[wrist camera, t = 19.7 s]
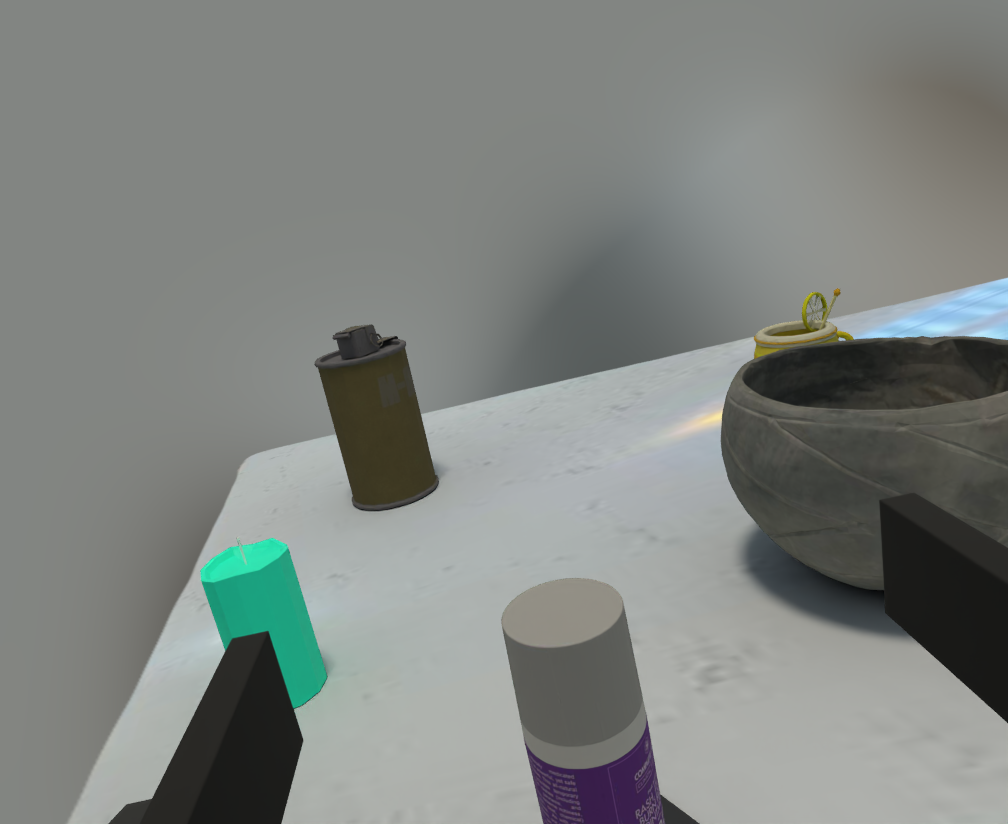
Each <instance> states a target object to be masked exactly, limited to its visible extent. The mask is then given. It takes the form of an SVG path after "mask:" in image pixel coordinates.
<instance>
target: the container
mask: <svg viewBox="0 0 1008 824" xmlns="http://www.w3.org/2000/svg"><path fill="white" fill-rule="evenodd" d="M502 628H503V633H504V638H505V644H506V649H507V654H508V659H509V664H510V669H511V674H512V679H513V684H514V689H515V694H516V699H517V704H518V709H519V715H520V720H521V725H522V730H523V736H524V741H525V745H526V749H527V754H528V758H529V762H530V767H531V771H532V776H533V780H534V784H535V789H536V793H537V797H538V802H539V806H540V810H541V815H542V819H543V823H544V824H665V820H664V815H663V809H662V803H661V797H660V791H659V785H658V780H657V774H656V768H655V762H654V756H653V750H652V745H651V739H650V733H649V727H648V721H647V715H646V711H645V707H644V702H643V697H642V692H641V687H640V682H639V678H638V673H637V668H636V663H635V658H634V653H633V648H632V643H631V639H630V634H629V629H628V624H627V619H626V614H625V609H624V604H623V600H622V597H621V596H620V594H619V593H618V592H617V591H616V590H615V589H614V588H613V587H611V586H609V585H608V584H605V583H603V582H600V581H596V580H592V579H583V578H569V579H561V580H555V581H550V582H546V583H543V584H540V585H537V586H535V587H533V588H530V589H528V590H527V591H525V592H523V593H521V594H520V595H519V596H517V597H516V598H515V599H514V600H512V601H511V602H510V603H509V605H508V606H507V607H506V609H505V611H504V613H503V616H502Z"/></svg>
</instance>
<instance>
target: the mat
mask: <svg viewBox="0 0 1008 824" xmlns="http://www.w3.org/2000/svg"><path fill="white" fill-rule="evenodd" d="M660 797H661V803H662V809H663V815H664V820H665V824H699V823H698V822H696V821H695V820H694V819H692V818H691V817H690V816H688V815H687V814H686V813H684V812H683V811H682V810H680V809H679V808H678V807H676V806H675V805H674V804H672V803H671V802H670V801H668V800H667V799H666V798H664V797H663V796H662V795H660Z"/></svg>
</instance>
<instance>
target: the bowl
mask: <svg viewBox="0 0 1008 824" xmlns="http://www.w3.org/2000/svg"><path fill="white" fill-rule="evenodd" d="M721 448H722V456H723V460H724V464H725V468H726V472H727V476H728V479H729V482H730V484H731V486H732V488H733V490H734V492H735V494H736V496H737V498H738V499H739V501H740V502H741V504H742V505H743V507H744V508H745V510H746V511H747V513H748V514H749V515H750V516H751V517H752V518H753V520H754V521H755V522H756V523H757V524H758V525H759V527H760V528H761V529H762V530H763V531H764V532H765V533H766V534H768V536H769V537H770V538H771V539H772V540H773V541H774V542H775V543H776V544H777V545H779V546H780V547H781V548H782V549H783V550H785V551H786V552H787V553H789V554H790V555H791V556H793V557H794V558H795V559H797V560H799V561H801V562H802V563H803V564H805V565H807V566H809V567H811V568H813V569H815V570H816V571H818V572H820V573H822V574H824V575H825V576H828V577H830V578H832V579H835V580H837V581H840V582H843V583H846V584H849V585H852V586H855V587H859V588H864V589H869V590H884V578H883V560H882V542H881V523H880V505H879V500H881V499H886V498H890V497H895V496H900V495H904V494H909V493H916V494H917V495H919V496H921V497H923V498H924V499H926V500H928V501H929V502H931V503H933V504H934V505H936V506H938V507H940V508H941V509H943V510H945V511H946V512H948V513H950V514H951V515H953V516H955V517H957V518H958V519H960V520H962V521H963V522H965V523H967V524H968V525H970V526H972V527H973V528H975V529H977V530H979V531H980V532H982V533H984V534H985V535H987V536H989V537H990V538H992V539H994V540H996V541H997V542H999V543H1001V544H1002V545H1004V546H1006V547H1007V548H1008V340H1001V339H993V338H986V337H968V336H958V337H948V336H944V337H934V338H929V337H924V336H921V337H905V338H895V337H894V338H871V339H856V340H846V341H837V342H829V343H821V344H814V345H806V346H797V347H793V348H788V349H783V350H778V351H776V352H773V353H770V354H767V355H763V356H760V357H758V358H756V359H753V360H751V361H749V362H747V363H746V364H744V365H743V366H742V367H741V368H740V370H739V371H738V372H737V374H736V375H735V377H734V379H733V381H732V382H731V385H730V387H729V390H728V392H727V395H726V399H725V404H724V409H723V414H722V428H721Z"/></svg>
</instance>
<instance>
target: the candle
mask: <svg viewBox="0 0 1008 824" xmlns="http://www.w3.org/2000/svg"><path fill="white" fill-rule="evenodd" d="M237 541H238V544H239V546H235V547H230V548H228V549H227V550H225V551H223V552H222V553H220V554H219V555H217V556H215V557H214V558H212V559H211V560H210V561H209V562H208V563H207V564H206V565H205V566H204V567H203V568H202V569H201V570H200V572H201V581H202V584H203V587H204V590H205V593H206V596H207V599H208V602H209V605H210V607H211V610H212V613H213V616H214V619H215V622H216V625H217V628H218V631H219V634H220V637H221V639H222V642H223V645H224V648H225V651H226V649H227V647H228V645H229V643H230V641H231V639H232V638H237V637H242V636H246V635H251V634H256V633H260V632H265V631H269V634H270V637H271V640H272V644H273V647H274V650H275V653H276V656H277V659H278V662H279V665H280V669H281V672H282V675H283V678H284V681H285V684H286V687H287V690H288V694H289V697H290V700H291V703H292V706H293V709H294V708H296V707H299V706H301V705H303V704H304V703H305V702H307V701H308V700H309V699H311V698H312V697H313V696H314V695H316V694H317V693H318V692H319V691H320V690H321V688H322V686H323V684H324V683H325V681H326V679H327V674H326V670H325V667H324V664H323V661H322V657H321V654H320V651H319V647H318V644H317V641H316V638H315V634H314V631H313V628H312V624H311V621H310V618H309V615H308V611H307V608H306V605H305V601H304V598H303V595H302V592H301V588H300V585H299V582H298V578H297V575H296V572H295V569H294V565H293V562H292V559H291V555H290V552H289V549H288V546H287V545H286V544H284V543H282V542H280V541H278V540H276V539H274V538H270V539H267V540H264V541H261V542H258V543H255V544H249V545H242V546H241V543H240V540H239V537H238V538H237Z"/></svg>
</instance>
